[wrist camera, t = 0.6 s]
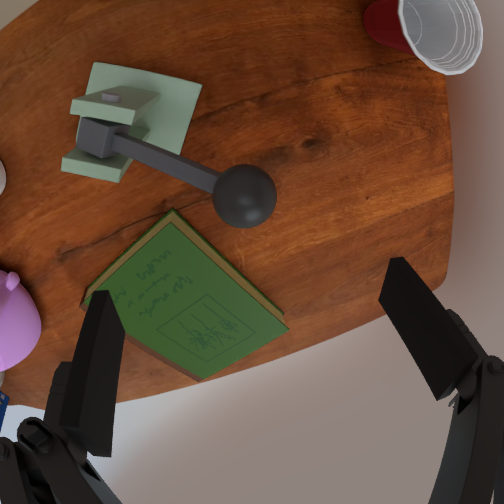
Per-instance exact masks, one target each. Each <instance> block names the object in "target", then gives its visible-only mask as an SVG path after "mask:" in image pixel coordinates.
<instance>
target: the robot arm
mask: <svg viewBox="0 0 504 504" xmlns="http://www.w3.org/2000/svg"><path fill="white" fill-rule="evenodd" d="M378 301H379V302H380V304H381V305H382V307H383V309H384V310H385V312H386V313H387V315H388V317H389V318H390V320H391V321H392V323H393V325H394V326H395V328H396V330H397V331H398V333H399V335H400V336H401V338H402V340H403V341H404V343H405V345H406V347H407V348H408V350H409V352H410V353H411V355H412V357H413V359H414V360H415V362H416V364H417V366H418V367H419V369H420V371H421V373H422V374H423V376H424V378H425V380H426V382H427V384H428V385H429V387H430V389H431V391H432V393H433V395H434V397H435V398H436V400H437V401H438V400H440V399H442V398H445V397H447V396H449V395H450V394H451V393H452V392H453V390H454V389H455V388H456V389H457V390H458V393H457V394H456V396H455V397H454V398H453V399H452V400H451V401H450V403H449V405H448V406H449V407H450V406H451V405H452V404H453V403H454V402H455V404H454V406H453V408H454V410H453V415H452V420H451V425H450V430H449V434H448V439H447V443H446V447H445V451H444V455H443V458H442V462H441V466H440V469H439V472H438V476H437V479H436V482H435V485H434V488H433V491H432V494H431V498H430V500H429V503H428V504H490V502H491V498H492V494H493V490H494V500H493V504H504V362H503V361H502V360H500V359H499V358H498V357H496V356H491V355H490V356H488V355H487V354H486V352H485V351H484V349H483V348H482V347H481V345H480V344H479V342H478V341H477V339H476V338H475V337H474V335H473V334H472V332H470V331H469V329H468V327H467V326H466V325H465V323H464V322H463V320H462V319H461V318H460V316H459V315H458V314H456V313H455V312H454V311H452V310H451V309H447V310H445V308H444V307H443V306H442V305H441V303H440V302H439V301H438V299H437V298H436V297H435V295H434V294H433V293H432V291H431V290H430V289H429V288H428V286H427V285H426V284H425V283H424V281H423V280H422V279H421V278H420V277H419V275H418V274H417V273H416V272H415V271H414V269H413V268H412V267H411V266H410V265H409V263H408V262H407V261H406V260H405V259H404V257H396V258H390V262H389V265H388V269H387V273H386V276H385V280H384V283H383V286H382V290H381V293H380V296H379V300H378ZM124 338H125V329H124V327H123V325H122V322H121V320H120V317H119V315H118V312H117V310H116V307H115V305H114V302H113V300H112V297H111V295H110V292H109V290H98V291H93V294H92V297H91V300H90V303H89V306H88V309H87V312H86V315H85V318H84V322H83V325H82V328H81V332H80V335H79V338H78V342H77V346H76V349H75V353H74V357H73V361H72V362H61V363H60V365H59V366H58V368H57V369H56V371H55V373H54V377H53V380H52V385H51V388H50V394H49V396H48V401H47V405H46V410H45V414H44V419H43V421H42V420H41V419H39V418H37V417H29V418H26V419H24V420H23V422H21V423H20V426H19V427H18V429H17V439H18V442H12V441H11V440H10V439H8V438H6V437H0V500H1V504H122V503H121V501H120V500H119V499H118V498H117V497H116V495H115V494H114V493H113V492H112V491H111V489H110V488H109V487H108V486H107V484H106V483H105V482H104V480H103V479H102V478H101V477H100V475H99V474H98V473H97V471H96V470H95V468H94V467H93V466H92V465H91V463H90V461H89V460H88V459H87V451H88V452H90V453H91V454H92V455H93V456H100V457H111V451H112V437H113V425H114V424H113V423H114V413H115V404H116V395H117V387H118V379H119V371H120V364H121V357H122V351H123V344H124Z"/></svg>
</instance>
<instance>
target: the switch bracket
mask: <svg viewBox="0 0 504 504" xmlns="http://www.w3.org/2000/svg"><path fill="white" fill-rule="evenodd" d="M201 88H202V84H200V83H196V82H192V81H188V80H185V79H181V78H177V77H173V76H168V75H164V74H160V73H155V72H151V71H146V70H141V69H136V68H131V67H126V66H120V65H114V64H108V63H102V62H94V64H93V67H92V71H91V74H90V78H89V82H88V86H87V90H86V94H85V95H84V96H81V97H78V98H74V99H73V100H72V105H71V110H70V114H75V115H81V116H80V121H81V117H92V118H98V119H103V120H108V121H113V122H118V123H123V124H128V125H130V129H129V133H128V135H130V136H133V137H135V138H138V139H140V140H143V141H145V142H148V143H150V144H153V145H156V146H158V147H160V148H163V149H165V150H168V151H170V152H173V153H175V154H178V155H180V152H181V149H182V145H183V142H184V139H185V136H186V132H187V129H188V126H189V123H190V120H191V117H192V114H193V111H194V108H195V105H196V102H197V99H198V97H199V94H200V91H201ZM80 121H79V126H80ZM79 126H78V131H79ZM78 131H77V136H78ZM77 136H76V141H77ZM132 161H133V159H132V158H130V157H128V156H125V155H123V154H118V155H114V156H109V157H105V158H99V157H97V156H95V155H93V154H91V153H88V152H86V151H84V150H82V149H79V148H77V147H75V148H74V149H73V150H71V151H70V152H69V153H68V154H66V155H65V156H64V157H63V158H62V166H61V171H65V172H70V173H75V174H80V175H84V176H89V177H92V178H98V179H103V180H107V181H112V182H116V183H119V181H120V180H121V178H122V176H123V175H124V173H125V172H126V170H127V169H128V167H129V165H130V164H131V162H132Z"/></svg>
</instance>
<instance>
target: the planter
mask: <svg viewBox="0 0 504 504" xmlns="http://www.w3.org/2000/svg"><path fill="white" fill-rule="evenodd" d="M4 377H5V370H4V371H2V372H0V389H1V386H2V383H3V380H4Z"/></svg>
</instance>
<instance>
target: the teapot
mask: <svg viewBox="0 0 504 504" xmlns="http://www.w3.org/2000/svg"><path fill="white" fill-rule="evenodd" d="M19 281H20V278H19V276H18V274H17V273H15V272H10V273H9V274H8V273H6V272H4V271H2V270H0V372H2V371H4V370H7V369H9V368H10V367H12V366H14V365H16V364H17V363H19V362H20V361H22V360H23V359H24V358H25V357H26V356H27V355H28V354H29V353H30V352H31V351H32V350H33V348H34V347H35V345H36V343H37V342H38V339H39V337H40V334H41V320H40V316H39V313H38V310H37V308H36V305H35V303H34V301H33V299H32V298H31V296H30V294H29V293H28V292H27V290H26V289H25V288H24V287H23V286H22V285H21V284H20V283H19Z"/></svg>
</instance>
